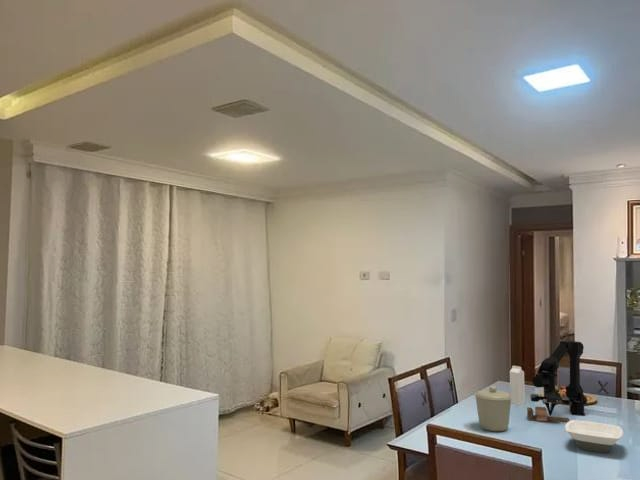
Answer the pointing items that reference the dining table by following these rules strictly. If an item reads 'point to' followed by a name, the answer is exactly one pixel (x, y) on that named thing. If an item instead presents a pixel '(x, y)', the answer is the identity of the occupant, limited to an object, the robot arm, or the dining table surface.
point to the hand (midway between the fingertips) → (550, 415)
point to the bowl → (594, 435)
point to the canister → (493, 409)
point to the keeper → (541, 413)
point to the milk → (517, 385)
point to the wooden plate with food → (589, 398)
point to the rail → (549, 418)
